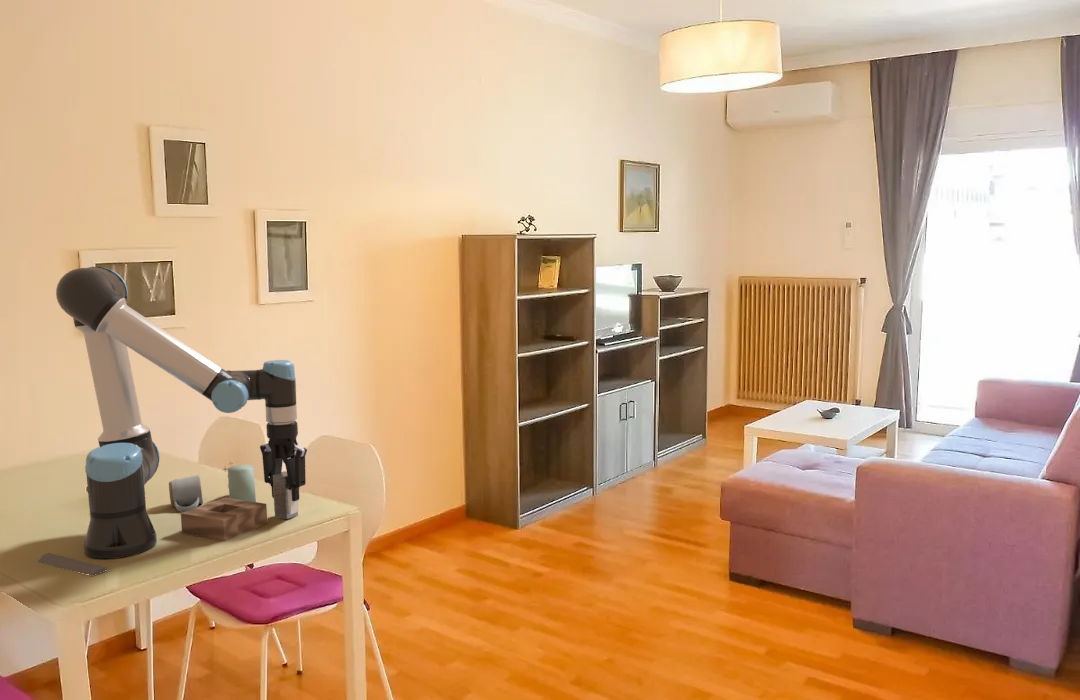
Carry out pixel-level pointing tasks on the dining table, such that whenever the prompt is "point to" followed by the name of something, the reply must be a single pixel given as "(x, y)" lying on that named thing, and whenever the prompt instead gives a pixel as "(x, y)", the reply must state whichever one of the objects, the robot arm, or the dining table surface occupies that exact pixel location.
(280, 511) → the square peg
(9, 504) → the dining table surface
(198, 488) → the ceramic mug
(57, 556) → the half round rod
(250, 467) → the round peg
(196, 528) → the socket block
